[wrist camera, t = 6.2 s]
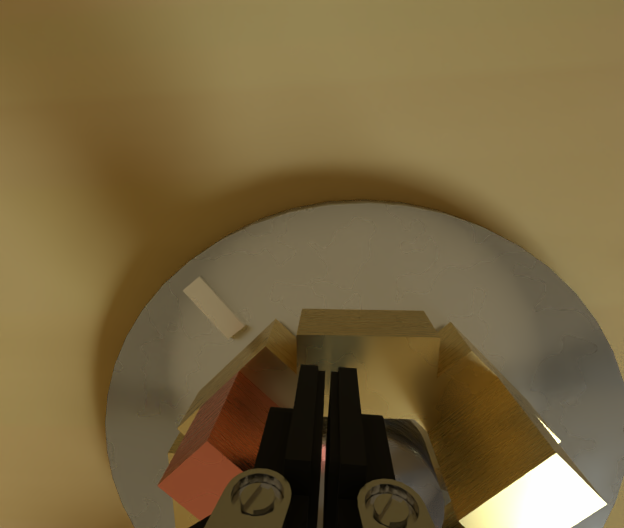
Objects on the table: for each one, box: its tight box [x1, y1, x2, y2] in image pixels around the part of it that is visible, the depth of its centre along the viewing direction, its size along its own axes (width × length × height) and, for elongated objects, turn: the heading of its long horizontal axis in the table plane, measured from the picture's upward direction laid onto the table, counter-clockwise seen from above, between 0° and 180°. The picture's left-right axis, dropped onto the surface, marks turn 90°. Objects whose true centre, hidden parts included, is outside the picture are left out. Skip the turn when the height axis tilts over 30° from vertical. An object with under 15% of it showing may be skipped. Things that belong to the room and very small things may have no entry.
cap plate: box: [105, 200, 624, 528], centre depth 17 cm, size 22×22×4 cm
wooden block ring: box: [157, 309, 606, 528], centre depth 14 cm, size 14×14×6 cm
